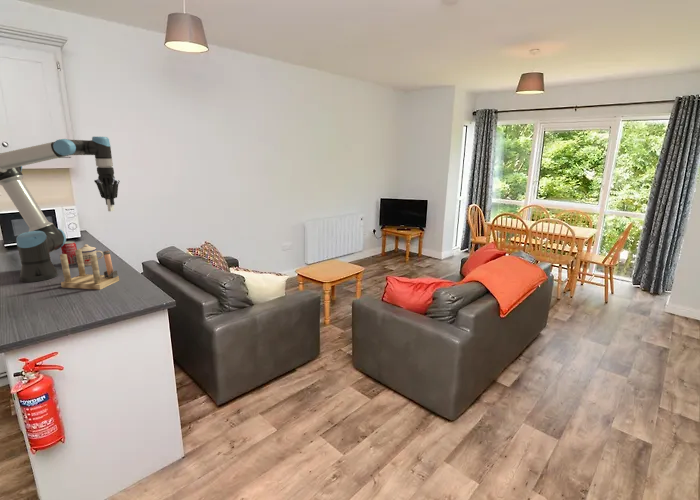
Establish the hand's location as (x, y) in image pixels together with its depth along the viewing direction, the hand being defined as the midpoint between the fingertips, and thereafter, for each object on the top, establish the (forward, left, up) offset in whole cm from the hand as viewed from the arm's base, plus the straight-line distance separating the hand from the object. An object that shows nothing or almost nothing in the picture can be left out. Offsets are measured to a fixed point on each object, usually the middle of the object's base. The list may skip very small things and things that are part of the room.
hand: (111, 210), depth 203 cm
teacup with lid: (-20, +4, -33) cm, 38 cm away
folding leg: (+13, -22, -30) cm, 39 cm away
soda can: (-31, +2, -33) cm, 45 cm away
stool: (+5, -27, -32) cm, 42 cm away
